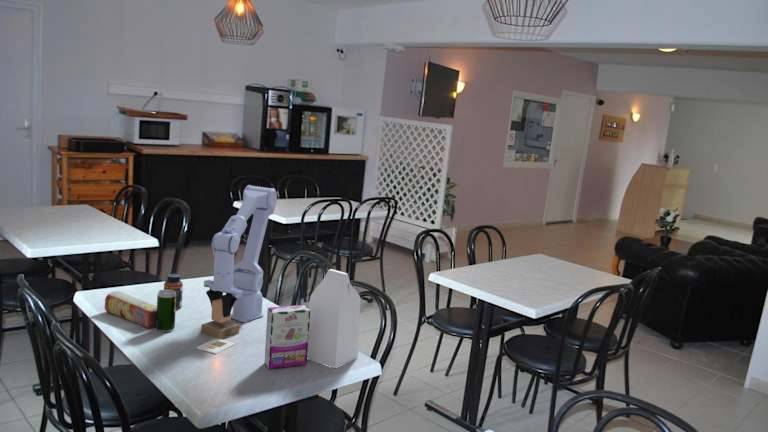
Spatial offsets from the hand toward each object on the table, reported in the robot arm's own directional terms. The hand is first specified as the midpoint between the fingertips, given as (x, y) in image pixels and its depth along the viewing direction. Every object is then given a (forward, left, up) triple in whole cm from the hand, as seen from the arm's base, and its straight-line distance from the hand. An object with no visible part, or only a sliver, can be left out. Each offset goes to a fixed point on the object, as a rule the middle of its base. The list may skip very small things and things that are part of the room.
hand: (221, 314), depth 186 cm
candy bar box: (+3, +29, -6) cm, 30 cm away
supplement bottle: (-4, -27, -6) cm, 28 cm away
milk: (-10, +35, -6) cm, 37 cm away
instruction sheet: (+8, +7, -6) cm, 12 cm away
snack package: (+11, -27, -6) cm, 29 cm away
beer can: (+10, -13, -6) cm, 17 cm away
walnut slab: (0, 0, -6) cm, 6 cm away
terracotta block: (0, 0, -2) cm, 2 cm away
